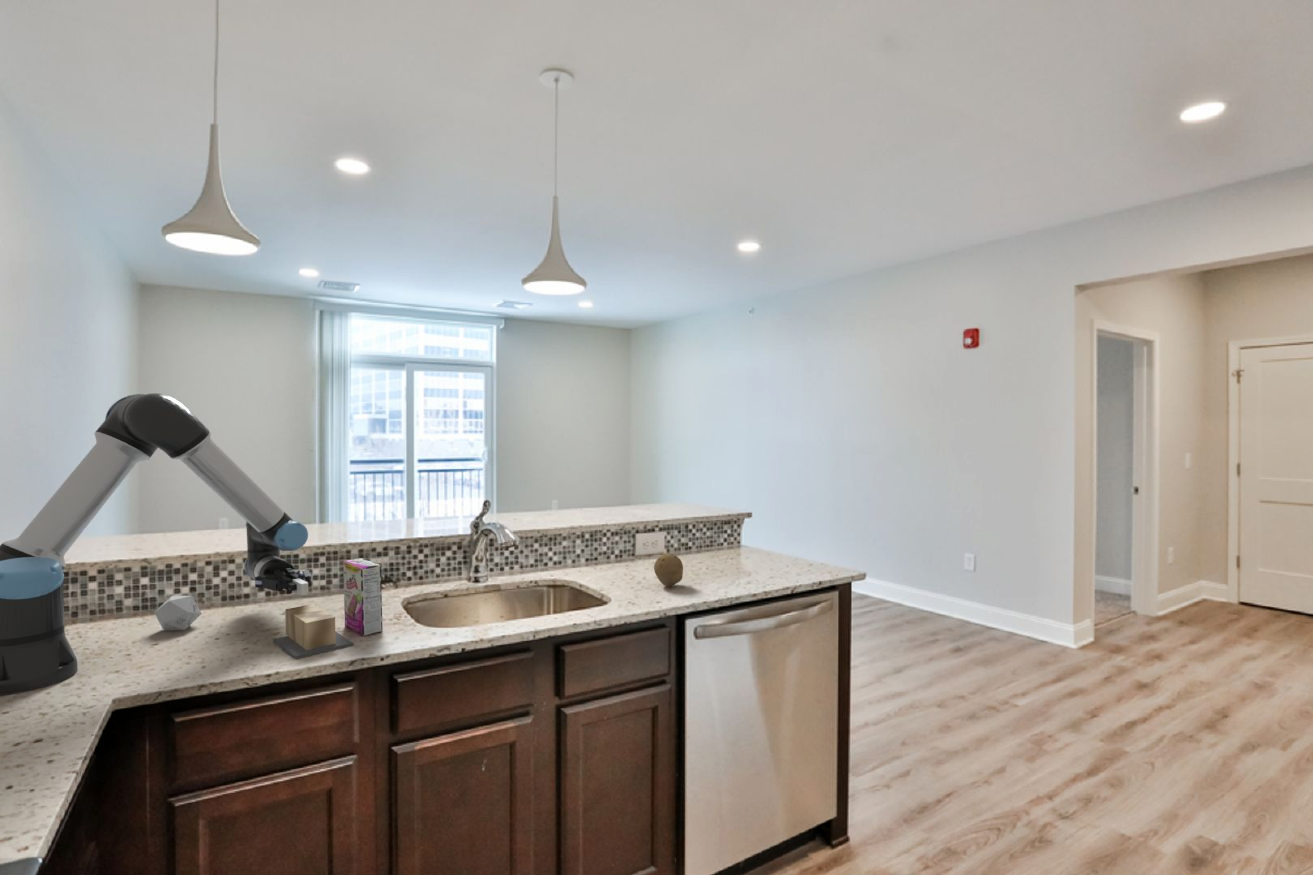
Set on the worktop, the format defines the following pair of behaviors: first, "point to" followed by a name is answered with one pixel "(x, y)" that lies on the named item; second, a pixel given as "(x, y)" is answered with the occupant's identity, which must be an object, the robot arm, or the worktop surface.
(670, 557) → the brown oval lump
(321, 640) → the wooden block
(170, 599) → the die
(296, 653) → the mat
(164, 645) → the worktop surface
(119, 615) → the worktop surface
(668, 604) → the worktop surface
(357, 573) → the candy bar box
